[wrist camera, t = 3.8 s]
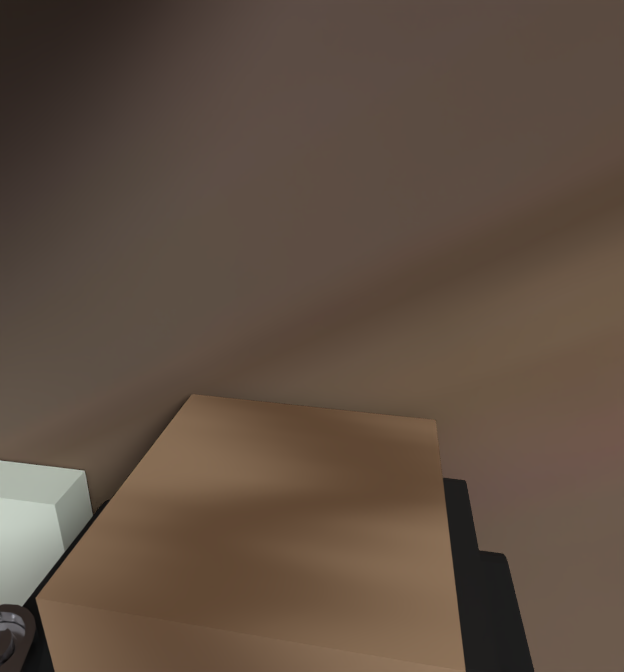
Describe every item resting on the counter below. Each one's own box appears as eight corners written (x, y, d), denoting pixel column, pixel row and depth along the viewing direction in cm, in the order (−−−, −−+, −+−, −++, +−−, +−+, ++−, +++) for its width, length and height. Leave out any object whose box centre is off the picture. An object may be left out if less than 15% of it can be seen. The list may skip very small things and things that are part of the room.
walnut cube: (435, 419, 10) (465, 671, 5) (409, 602, 12) (415, 898, 7) (192, 393, 11) (35, 598, 6) (205, 570, 13) (95, 825, 8)
